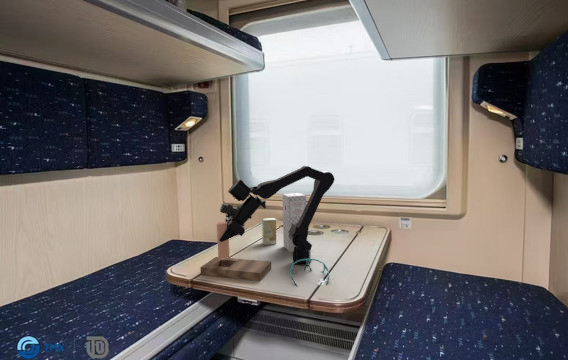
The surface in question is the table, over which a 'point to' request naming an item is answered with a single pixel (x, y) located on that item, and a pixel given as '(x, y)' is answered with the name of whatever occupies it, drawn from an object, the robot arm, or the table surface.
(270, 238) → the skincare box
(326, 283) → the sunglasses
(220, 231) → the terracotta peg block
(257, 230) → the table surface
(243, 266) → the wooden peg hole board
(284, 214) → the box
